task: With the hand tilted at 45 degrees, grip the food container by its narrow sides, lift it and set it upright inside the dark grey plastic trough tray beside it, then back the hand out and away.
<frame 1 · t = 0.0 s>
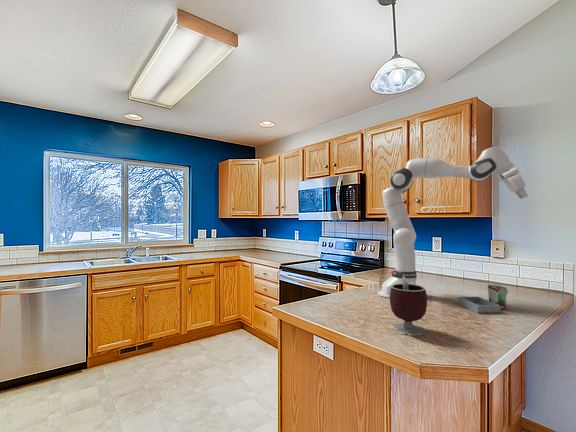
hand: (524, 197, 152), 54 cm above the counter, tool tilted 30°, fingers open, 8 cm apart
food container: (500, 307, 153), on the counter
mate gourd: (407, 329, 124), on the counter
tray: (478, 308, 152), on the counter
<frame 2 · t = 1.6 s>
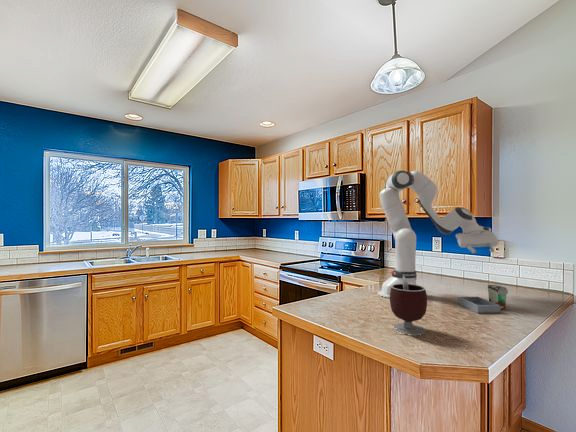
hand: (483, 252, 166), 26 cm above the counter, tool tilted 45°, fingers open, 8 cm apart
nothing on the counter moved.
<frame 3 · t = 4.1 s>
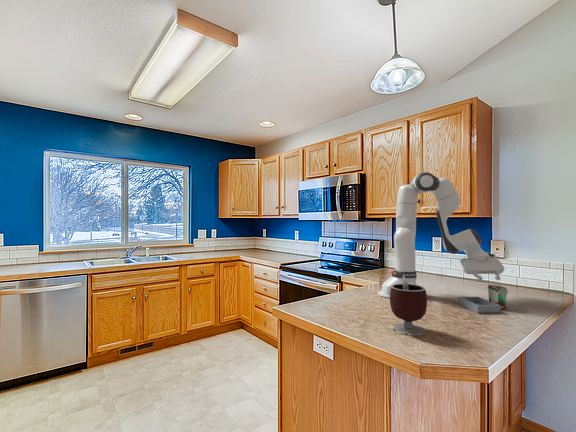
hand: (489, 279, 161), 12 cm above the counter, tool tilted 45°, fingers open, 8 cm apart
nothing on the counter moved.
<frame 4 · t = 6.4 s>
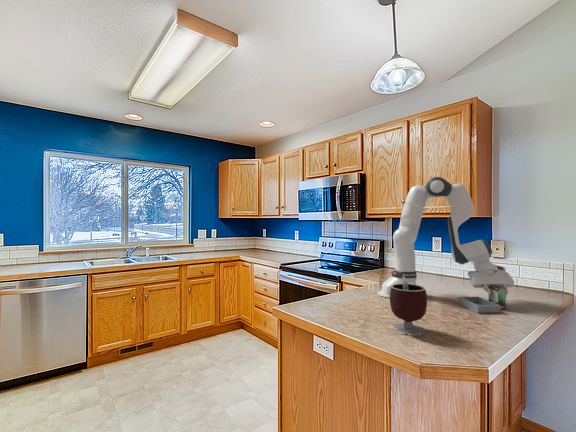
hand: (498, 294, 154), 6 cm above the counter, tool tilted 45°, fingers closed on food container, 6 cm apart
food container: (500, 307, 153), on the counter, touching gripper
everything else where it was.
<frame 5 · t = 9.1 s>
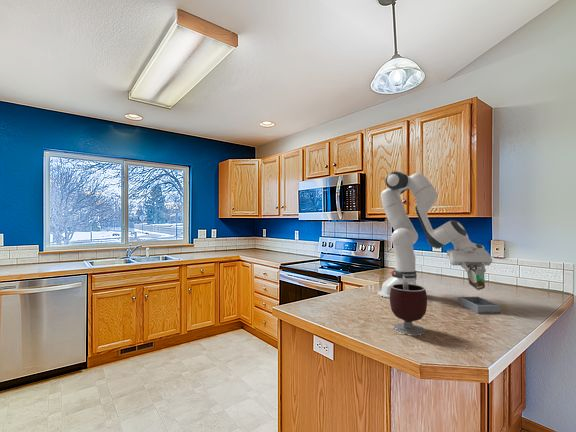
hand: (476, 271, 153), 18 cm above the counter, tool tilted 45°, fingers closed on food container, 6 cm apart
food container: (479, 286, 153), point 10 cm above the counter, touching gripper
everything else where it was.
when the fingers open (9 cm above the counter, at t = 12.0 s): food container stays where it is, resting on tray.
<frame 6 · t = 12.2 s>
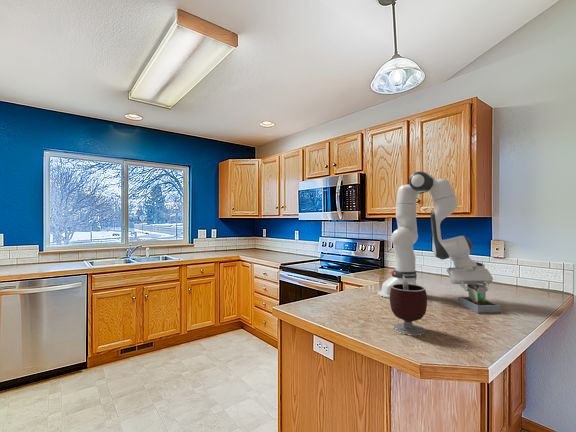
hand: (476, 290, 153), 8 cm above the counter, tool tilted 45°, fingers open, 8 cm apart
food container: (480, 306, 152), point 1 cm above the counter, touching gripper, tray
everything else where it was.
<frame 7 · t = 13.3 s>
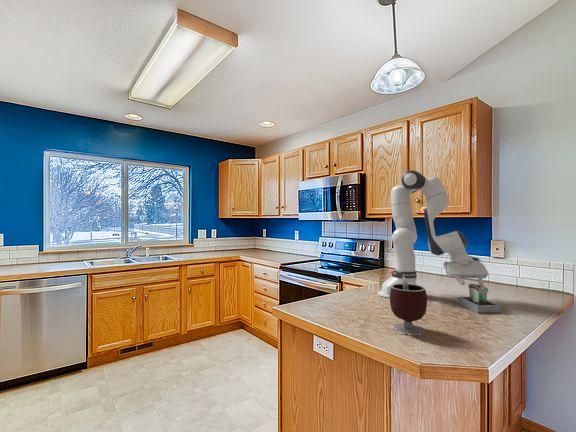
hand: (472, 284, 156), 11 cm above the counter, tool tilted 45°, fingers open, 8 cm apart
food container: (480, 307, 152), resting on tray
everything else where it was.
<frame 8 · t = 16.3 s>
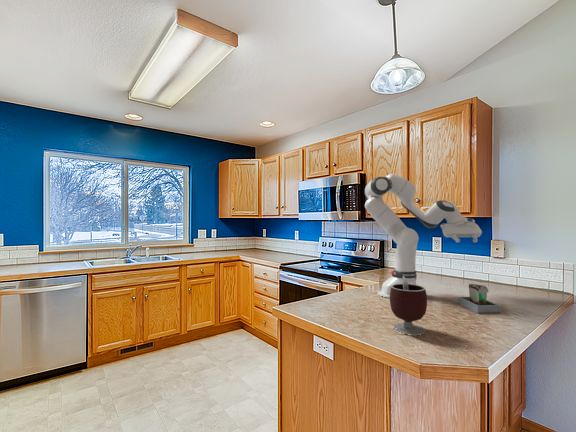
hand: (467, 241, 168), 31 cm above the counter, tool tilted 45°, fingers open, 8 cm apart
nothing on the counter moved.
at the end: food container 1.6 cm off-centre on the tray, point 0.4 cm above the tray's base; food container tilted 0°; the gripper is holding nothing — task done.
